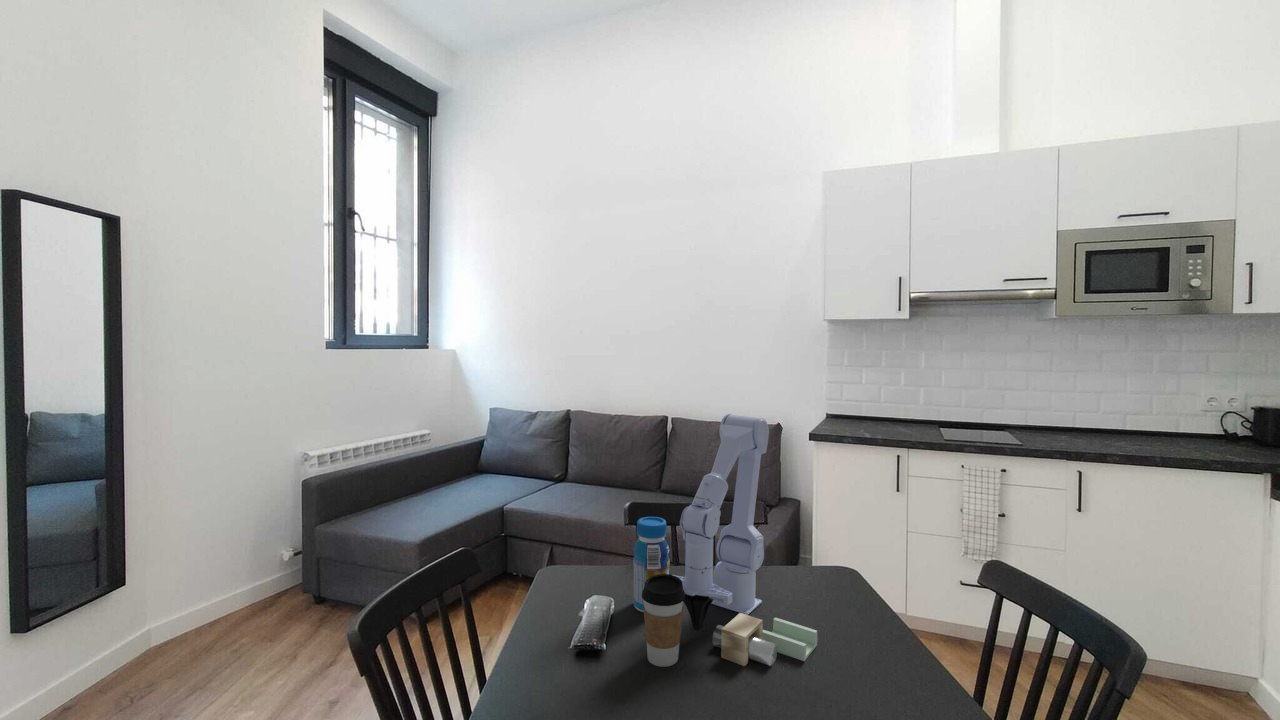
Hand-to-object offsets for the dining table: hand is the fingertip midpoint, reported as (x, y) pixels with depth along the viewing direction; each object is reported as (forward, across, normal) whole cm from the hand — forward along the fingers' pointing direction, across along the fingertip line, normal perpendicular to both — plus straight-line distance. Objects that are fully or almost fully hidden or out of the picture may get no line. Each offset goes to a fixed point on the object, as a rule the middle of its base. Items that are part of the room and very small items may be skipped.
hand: (698, 628), depth 119 cm
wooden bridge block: (+2, +10, 0) cm, 10 cm away
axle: (+2, +10, 0) cm, 11 cm away
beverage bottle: (+2, -16, +5) cm, 16 cm away
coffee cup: (+2, -2, -11) cm, 11 cm away
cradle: (+2, +16, +8) cm, 18 cm away
